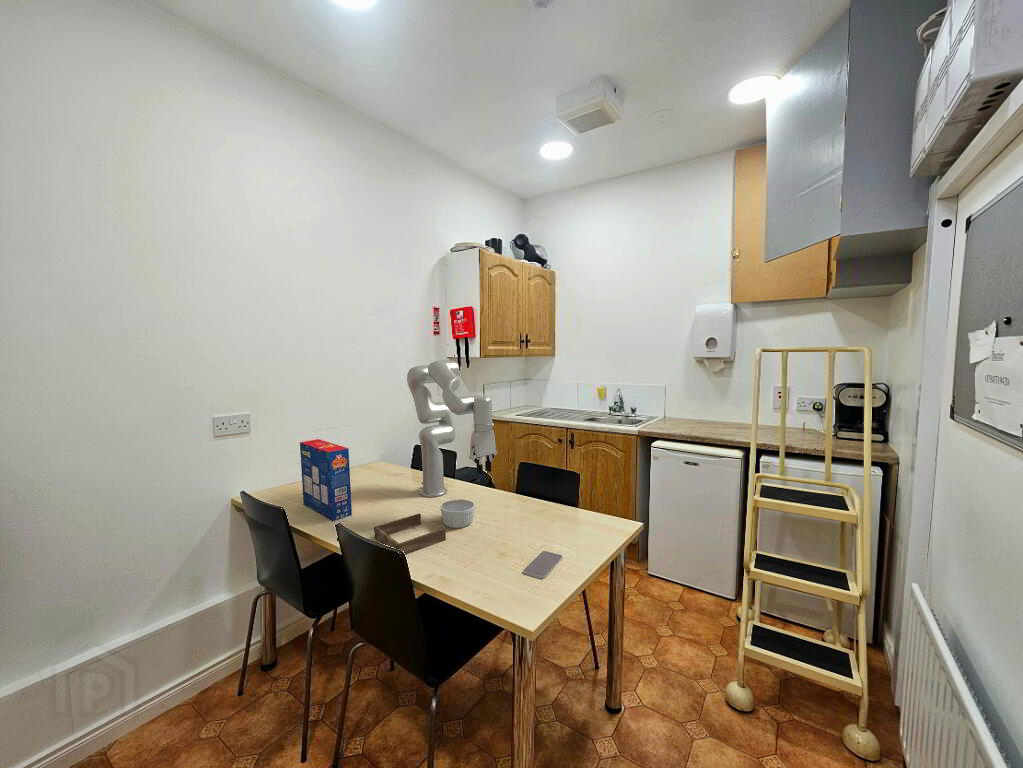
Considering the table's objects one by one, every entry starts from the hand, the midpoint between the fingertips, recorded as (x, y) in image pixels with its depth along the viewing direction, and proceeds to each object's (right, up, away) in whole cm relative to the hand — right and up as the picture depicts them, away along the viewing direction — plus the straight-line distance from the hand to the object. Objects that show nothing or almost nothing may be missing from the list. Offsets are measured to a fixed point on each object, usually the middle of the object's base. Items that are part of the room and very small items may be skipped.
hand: (484, 471), depth 167 cm
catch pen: (-25, -19, -20) cm, 37 cm away
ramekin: (-10, -18, -7) cm, 22 cm away
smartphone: (+21, -21, -39) cm, 49 cm away
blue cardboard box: (-67, -18, +8) cm, 70 cm away
